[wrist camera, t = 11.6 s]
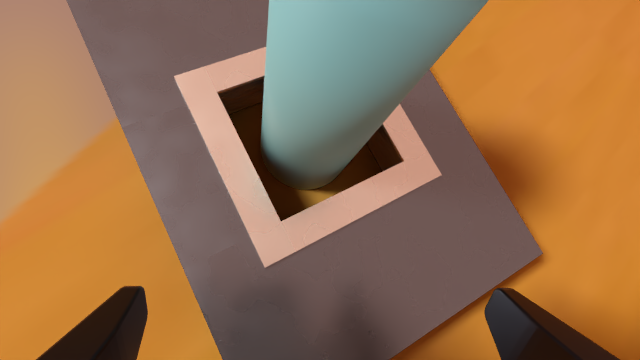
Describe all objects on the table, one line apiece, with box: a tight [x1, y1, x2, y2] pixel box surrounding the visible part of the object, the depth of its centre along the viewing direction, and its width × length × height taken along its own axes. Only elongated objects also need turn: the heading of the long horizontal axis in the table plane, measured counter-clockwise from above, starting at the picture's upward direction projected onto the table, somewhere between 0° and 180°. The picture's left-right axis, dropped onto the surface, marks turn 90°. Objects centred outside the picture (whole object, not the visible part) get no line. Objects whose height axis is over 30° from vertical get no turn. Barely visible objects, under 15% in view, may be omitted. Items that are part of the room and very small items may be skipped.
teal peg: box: [260, 0, 488, 190], centre depth 13 cm, size 5×5×13 cm
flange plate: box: [67, 0, 543, 360], centre depth 18 cm, size 22×16×3 cm
